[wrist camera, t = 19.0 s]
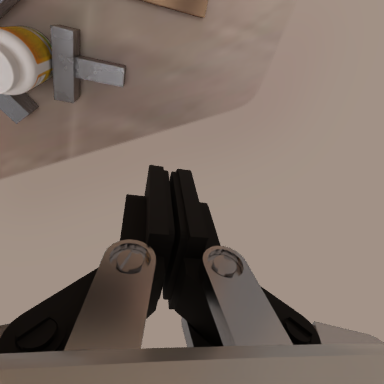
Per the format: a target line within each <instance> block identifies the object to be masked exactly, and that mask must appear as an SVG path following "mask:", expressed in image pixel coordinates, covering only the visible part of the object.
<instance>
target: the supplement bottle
mask: <svg viewBox="0 0 384 384" xmlns="http://www.w3.org/2000/svg"><path fill="white" fill-rule="evenodd" d="M52 76H53V64H52V46H51V43H50V41H49V40H48V39H47V38H46V37H45V36H44V35H43V34H41V33H40V32H38V31H37V30H35V29H32V28H30V27H25V26H12V27H0V94H5V95H19V94H22V93H25V92H27V91H29V90H31V89H32V88H34V87H36V86H37V85H39V84H41V83H43V82H44V81H46V80H48V79H49V78H50V77H52Z"/></svg>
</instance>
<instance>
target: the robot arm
mask: <svg viewBox="0 0 384 384" xmlns="http://www.w3.org/2000/svg"><path fill="white" fill-rule="evenodd" d="M162 287H163V299H168V302H169V309H175V311H176V312H177V313H178V314H179V315H181V316H182V319H181V322H182V328H183V332H184V336H185V340H186V344H187V347H186V348H185V347H184V348H150V349H149V348H148V349H141V345H142V338H143V333H144V328H145V321H146V319H147V318H148V317H149V316H150V315H151V314H152V313H153V312H154V311H155V310H156V306H157V302H158V299H159V298H160V295H161V290H162ZM0 384H384V342H382V341H381V340H379V339H378V338H376V337H374V336H371V335H368V334H364V333H360V332H356V331H352V330H347V329H343V328H340V327H336V326H331V325H327V324H323V323H319V322H314V323H313V324H311V323H310V322H309V321H308V320H307V319H306V318H304V317H303V316H302V315H301V314H299V313H298V312H296V311H295V310H294V309H292V308H291V307H289V306H288V305H286V304H285V303H284V302H282V301H281V300H279V299H278V298H276V297H275V296H274V295H272V294H271V293H269V292H268V291H267V290H265V289H263V288H262V287H261V286H260V285H259V283H258V282H257V280H256V278H255V276H254V274H253V273H252V271H251V269H250V268H249V266H248V264H247V262H246V261H245V259H244V258H243V257H242V256H241V255H240V254H239V253H238V252H237V251H235V250H233V249H231V248H228V247H225V246H220V243H219V240H218V236H217V233H216V230H215V226H214V223H213V220H212V217H211V214H210V210H209V207H208V205H207V203H200V202H199V199H198V195H197V192H196V188H195V184H194V180H193V177H192V173H191V171H190V170H182V169H177V171H176V172H171V176H170V181H169V174H168V171H164V169H163V167H161V166H154V165H150V166H149V171H148V177H147V184H146V191H145V196H137V195H128V194H127V195H126V202H125V209H124V216H123V223H122V230H121V238H120V241H118V242H116V243H113V244H112V245H111V246H110V247H109V248H108V249H107V250H106V252H105V253H104V256H103V258H102V260H101V263H100V265H99V267H98V268H97V269H95V270H94V271H92V272H90V273H89V274H87V275H86V276H84V277H82V278H81V279H79V280H77V281H76V282H74V283H72V284H71V285H69V286H68V287H66V288H64V289H63V290H61V291H59V292H58V293H56V294H54V295H53V296H51V297H50V298H48V299H46V300H45V301H43V302H41V303H40V304H38V305H36V306H35V307H33V308H31V309H30V310H28V311H27V312H25V313H23V314H22V315H20V316H19V317H18V318H16V319H15V320H14V321H13V322H11V323H10V324H5V325H1V326H0Z"/></svg>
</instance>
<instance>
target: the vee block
mask: <svg viewBox="0 0 384 384" xmlns="http://www.w3.org/2000/svg"><path fill="white" fill-rule="evenodd" d="M19 1H20V0H0V18H1V17H2V16H4V15H5V14H6V13H7V12H8V11H9V10H10V9H11V8H12V7H13V6H14V5H15V4H16V3H18V2H19ZM38 107H39V106H38V105H37V104H36V103H35V102H34V101H33V100H32V99H31V98H30V97H29V96H28V95H27V94H26V93H22V94H19V95H5V94H0V109H1V110H2V111H3V112H4V113H5V114H6V115H7V116H8V117H10V118H11V119H12V120H13V121H14V122H15V123H16V124H17V123H18V122H20V121H21V120H22V119H24V118H25V117H26V116H27V115H29V114H30V113H31V112H33V111H34V110H35V109H36V108H38Z"/></svg>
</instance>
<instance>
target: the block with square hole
mask: <svg viewBox="0 0 384 384" xmlns="http://www.w3.org/2000/svg"><path fill="white" fill-rule="evenodd" d="M141 1H144V2H148V3H152V4H155V5H159V6H162V7H166V8H169V9H173V10H176V11H180V12H183V13H187V14H190V15H194V16H198V17H201V18H203V17H205V13H206V8H207V3H208V0H141Z"/></svg>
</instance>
